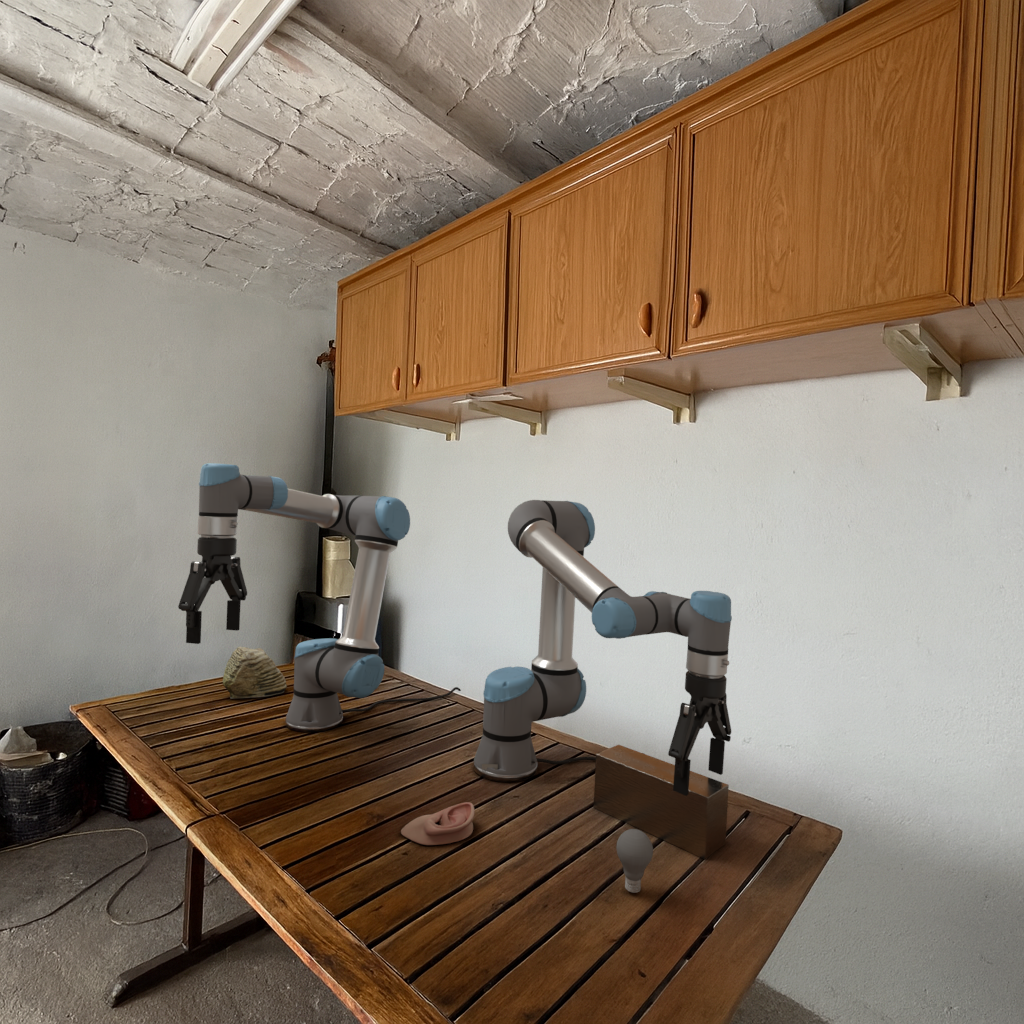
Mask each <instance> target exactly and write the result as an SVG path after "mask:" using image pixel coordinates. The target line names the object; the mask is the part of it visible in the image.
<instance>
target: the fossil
mask: <svg viewBox="0 0 1024 1024" xmlns="http://www.w3.org/2000/svg"><path fill="white" fill-rule="evenodd" d="M222 676H223V677H222V685H223V687H224V688H225V690H226V691H228V693H229V698H230V699H250V698H264V697H271V696H275V695H281V694H284V693H285V691H286V689H287V687H288V686H287V680H286V678H285V676H284V674H283V673H282V672H281V669H279V668H278V667H277V665H276V663H275V662H274V660H273V659H272V658H271V657H270V656H269V655H268V654H267V653H266V652H265V650H264V649H263V648H260V647H258V648H251V647H247V646H246V647H245V646H238V647H237V648H236V649H235V650H233V651H232V653H231V656H230V657H229V659H228V660H227V663H226V666H225V668H224V671H223V675H222Z"/></svg>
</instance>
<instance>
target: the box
mask: <svg viewBox="0 0 1024 1024" xmlns="http://www.w3.org/2000/svg"><path fill="white" fill-rule="evenodd" d="M595 757H596V761H595V769H594V788H593V809H595V810H598V811H600V812H602V813H604V814H606V815H608V816H611V817H613V818H615V819H617V820H620V821H621V822H624V823H626V824H628V825H630V826H632V827H634V828H635V829H637V830H640V831H642V832H644V833H647V834H649V835H651V836H653V837H656V838H658V839H660V840H661V841H664V842H666V843H669V844H671V845H673V846H675V847H676V848H677V847H678V848H680V849H682V850H683V851H686V852H688V853H690V854H691V855H695V856H697V857H699V858H701V859H703V860H706V859H707V858H709V857H710V856H712V855H713V854H714V853H716V852H717V851H718V850H719V849H721V848H722V847H724V846H725V845H726V843H727V827H728V824H727V823H728V808H729V807H728V805H729V802H728V801H729V789H730V788H729V784H728V783H725V782H722V781H720V780H717V779H714V778H712V777H709V776H706V775H704V774H701V773H698V772H695V771H692V770H690V776H689V791H688V795H687V796H685V795H683V794H681V793H678V792H676V791H673V784H674V770H675V764H673V763H671V762H669V761H665V760H662V759H659V758H657V757H654V756H651V755H648V754H645V753H644V754H643V752H640V751H638V750H635V749H632V748H629V747H626V746H624V745H621V744H616V745H614V746H612V747H609V748H606V749H605V750H603V751H600V752H597V753H595Z"/></svg>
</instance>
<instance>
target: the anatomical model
mask: <svg viewBox="0 0 1024 1024" xmlns="http://www.w3.org/2000/svg"><path fill="white" fill-rule="evenodd" d="M475 813H476V812H475V806H474V804H473V803H472V802H469V801H467V802H466V801H465V802H461V803H457V804H454V805H451V806H448V807H446V808H444V809H442V810H439V811H437V812H434V813H431V814H425V815H424V814H423V815H420V816H418V817H416V818H414V819H412V820H411V821H409V822H408V823H407V824H405V825H404V826H403V827H402V828H401V830H400V834H401V835H402V836H403V837H404V838H406V839H408V840H410V841H412V842H414V843H417V844H420V845H422V846H423V845H424V846H437V845H446V844H451V843H455V842H459V841H462V840H464V839H467V838H468V837H470V836H471V835H472V834H473V830H474V823H473V821H474V818H475V815H476V814H475Z"/></svg>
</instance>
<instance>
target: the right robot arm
mask: <svg viewBox="0 0 1024 1024" xmlns="http://www.w3.org/2000/svg"><path fill="white" fill-rule="evenodd" d="M594 519H595V518H594V517H593V515H592V513H591V512H590V511H589V508H588V507H587V506H585V505H584V504H582V503H580V502H576V501H570V500H543V499H542V500H541V499H530V500H526V501H524V502H522V503H520V504H518V505H517V506H516V507H515V508H514V509H513V510H512V512H511V513H510V516H509V518H508V521H507V535H508V537H509V539H510V541H511V543H512V545H513V546H514V547H515V548H516V549H517V551H519V552H520V553H521V554H522V555H523V556H524V557H526V558H532V559H534V560H535V561H536V562H537V563H538V565H540V566H541V567H542V573H541V592H540V593H541V594H540V609H539V611H540V613H539V629H538V630H539V631H538V633H539V634H538V651H537V655H536V656H535V657H533V659H532V660H531V668H528V667H525V666H506V667H501V668H497V669H495V670H493V671H491V672H489V674H488V675H487V676H486V678H485V681H484V682H485V683H484V690H483V694H482V695H483V712H482V713H483V717H482V734H481V735H482V736H481V738H480V741H479V744H478V747H477V749H476V753H475V754H474V758H473V771H474V772H475V773H476V774H477V775H478V776H480V777H482V778H483V779H486V780H490V781H493V782H499V783H516V782H523V781H526V780H529V779H531V778H532V777H534V776H535V775H536V774H537V773H538V763H543V764H544V763H545V764H549V765H564V764H570V763H574V762H579V761H594V762H596V756H577V757H572V758H567V759H563V760H562V759H561V760H552V759H548V758H547V759H546V758H539V757H537V755H536V751H535V747H534V744H533V741H532V723H534V722H539V721H543V720H548V719H553V718H554V719H555V718H563V717H566V716H568V715H570V714H574V713H576V712H577V711H579V709H580V708H581V707H582V706H583V704H584V703H585V700H586V696H587V682H586V679H584V677H585V676H584V674H583V672H582V670H580V669H579V664H578V662H577V661H576V660H575V658H574V657H573V648H574V629H575V613H576V600H577V601H579V603H581V604H582V606H584V608H586V609H587V610H588V611H589V612H590V613H591V623H592V625H593V626H594V630H595V632H596V633H597V634H598V635H599V636H601V637H602V638H605V639H618V640H619V639H625V638H631V637H638V636H644V635H645V636H646V635H647V636H648V635H655V634H661V633H662V634H663V633H671V634H674V635H678V636H681V637H685V638H687V650H686V651H687V652H686V663H685V669H686V670H687V671H686V672H685V678H684V679H685V680H684V690H685V692H686V693H688V694H689V695H690V700H689V703H685V702H681V703H680V708H679V716H678V719H677V723H676V725H675V729H674V733H673V735H672V739H671V741H670V745H669V749H668V753H667V755H668V756H669V757H671V758H673V759H674V765H675V770H674V784H673V791H676V792H678V793H681V794H683V795H685V796H687V795H688V791H689V776H690V771H691V759H690V755H691V752H692V751H693V748H694V745H695V742H696V741H697V737H698V735H699V733H700V731H701V729H703V728H704V727H705V725H706V724H707V725H708V727H709V729H710V732H711V734H712V736H713V737H710V741H709V753H708V754H709V755H708V769H707V770H708V771H709V772H712V773H715V774H717V775H720V776H721V775H723V773H724V762H725V761H724V760H725V746H726V742H729V743H730V742H731V734H732V727H731V720H730V716H729V711H728V705H727V704H728V703H727V697H728V696H727V695H728V694H727V693H726V692H727V682H728V681H727V680H728V679H727V677H726V676H725V675H727V673H728V667H729V665H730V661H729V642H730V633H731V623H732V620H733V619H732V598H731V597H730V596H729V595H728V594H726V593H723V592H719V591H711V590H695V591H693V592H692V593H691V595H690V598H688V597H684V596H679V595H675V594H671V593H668V592H665V591H653V590H651V591H648V592H646V593H645V594H644V595H639V596H631V595H629V593H627V592H625V591H624V589H622V588H621V587H619V586H618V585H617V584H616V582H614V581H612V580H611V579H610V578H608V576H607V575H605V574H604V573H603V572H602V571H601V570H599V569H598V568H597V567H596V566H595V565H593V564H592V563H591V562H590V561H589V560H588V559H587V558H585V548H587V547H589V546H590V545H591V544H592V541H594V538H595V534H596V524H595V520H594ZM642 753H643V752H642ZM643 754H645V753H643Z"/></svg>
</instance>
